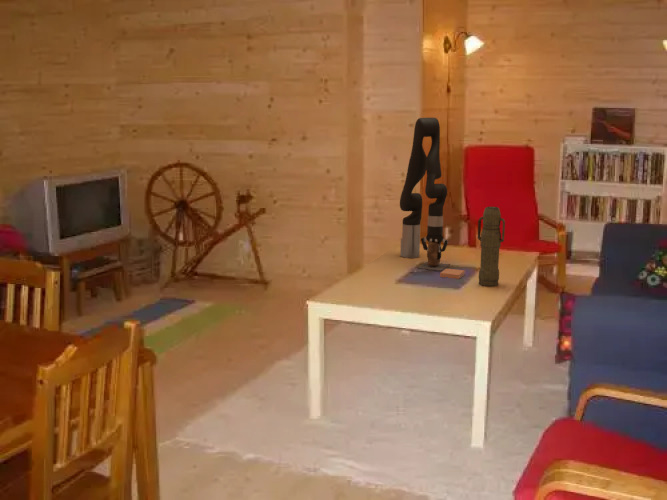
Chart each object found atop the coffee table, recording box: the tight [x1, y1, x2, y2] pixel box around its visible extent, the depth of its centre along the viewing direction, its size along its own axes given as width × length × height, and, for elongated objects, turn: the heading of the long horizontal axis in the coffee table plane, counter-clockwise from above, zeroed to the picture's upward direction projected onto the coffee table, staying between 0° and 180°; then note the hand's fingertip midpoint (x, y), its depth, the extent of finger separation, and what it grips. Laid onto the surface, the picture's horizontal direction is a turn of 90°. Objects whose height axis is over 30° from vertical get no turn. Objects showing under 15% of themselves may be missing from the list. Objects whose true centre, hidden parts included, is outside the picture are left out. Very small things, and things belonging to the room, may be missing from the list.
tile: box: [439, 267, 466, 280], centre depth 364 cm, size 9×2×10 cm
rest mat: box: [417, 261, 450, 272], centre depth 381 cm, size 12×14×1 cm
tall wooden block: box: [427, 242, 441, 266], centre depth 379 cm, size 4×8×11 cm, turn 156°
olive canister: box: [477, 206, 506, 288], centre depth 345 cm, size 9×12×35 cm
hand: (434, 258), depth 380 cm, fingers closed on tall wooden block, 4 cm apart
